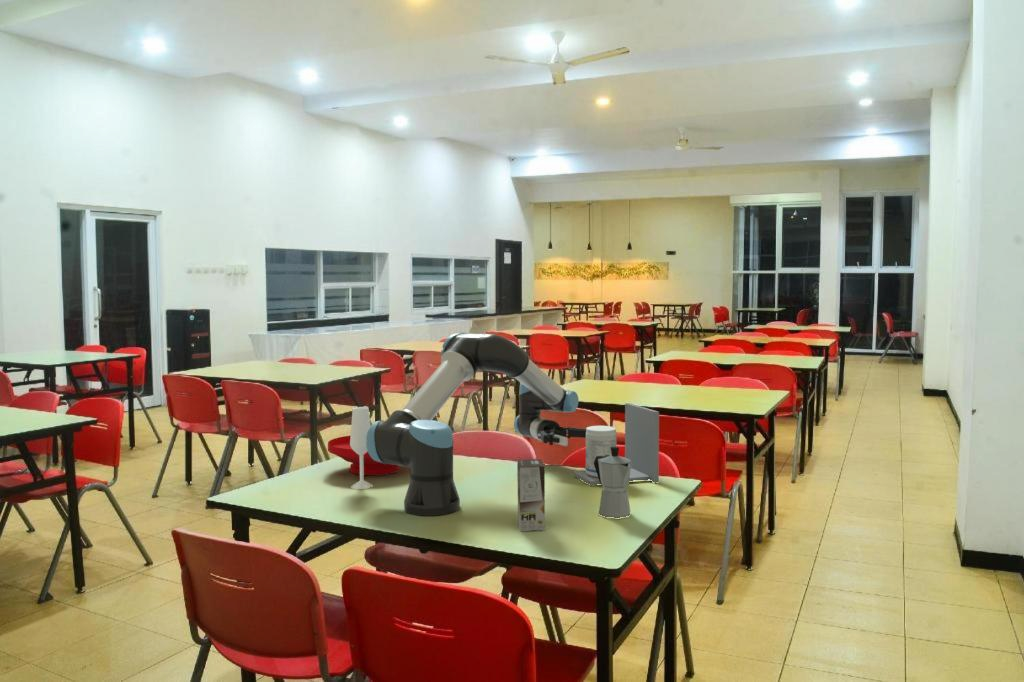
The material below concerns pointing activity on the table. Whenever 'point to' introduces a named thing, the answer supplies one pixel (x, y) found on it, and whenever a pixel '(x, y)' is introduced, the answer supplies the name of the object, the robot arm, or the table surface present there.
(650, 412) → the socket stand
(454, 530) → the table surface
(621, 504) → the coffee maker
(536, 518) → the coffee box
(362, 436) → the champagne flute
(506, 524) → the table surface
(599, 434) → the supplement tub
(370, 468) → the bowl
